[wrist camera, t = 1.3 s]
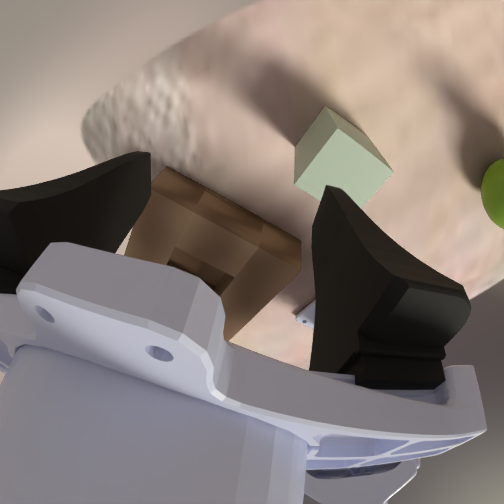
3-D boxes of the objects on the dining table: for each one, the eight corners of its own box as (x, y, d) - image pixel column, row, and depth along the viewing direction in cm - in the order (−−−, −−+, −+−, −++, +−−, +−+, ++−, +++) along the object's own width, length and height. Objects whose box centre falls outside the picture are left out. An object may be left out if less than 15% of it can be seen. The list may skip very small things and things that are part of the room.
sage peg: (368, 137, 18) (393, 172, 13) (337, 175, 20) (349, 220, 15) (325, 105, 17) (337, 128, 12) (294, 147, 19) (294, 184, 14)
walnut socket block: (300, 241, 24) (300, 270, 21) (232, 315, 31) (226, 342, 28) (166, 166, 21) (147, 187, 18) (129, 263, 28) (114, 287, 25)
